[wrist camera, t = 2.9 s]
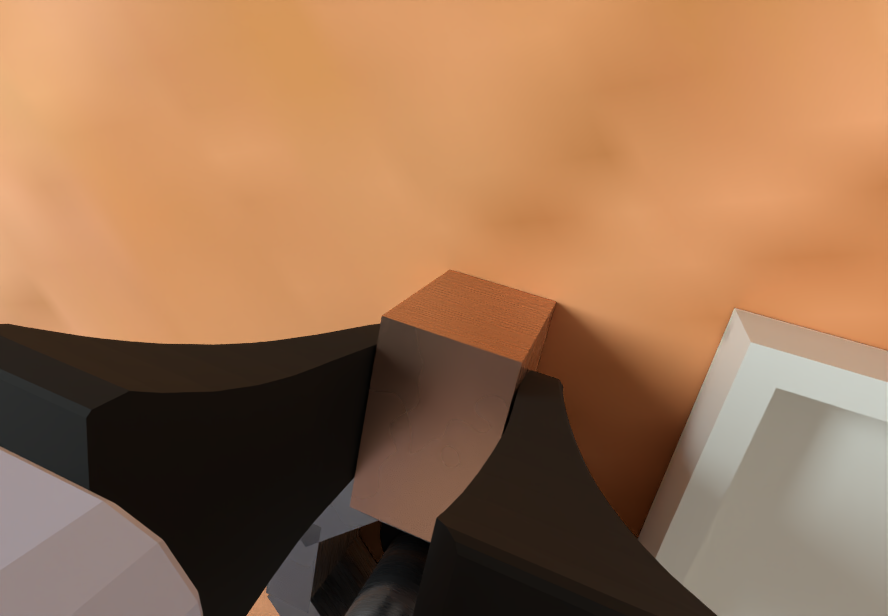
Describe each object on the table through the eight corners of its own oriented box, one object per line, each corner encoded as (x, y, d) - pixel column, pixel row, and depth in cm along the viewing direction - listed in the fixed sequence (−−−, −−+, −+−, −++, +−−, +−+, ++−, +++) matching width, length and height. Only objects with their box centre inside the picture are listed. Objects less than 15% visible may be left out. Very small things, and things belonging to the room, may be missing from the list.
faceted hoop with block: (530, 689, 15) (499, 834, 12) (311, 582, 17) (233, 684, 13) (664, 334, 11) (669, 411, 8) (360, 242, 13) (269, 278, 10)
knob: (478, 607, 15) (413, 789, 11) (377, 561, 15) (279, 713, 11) (505, 519, 14) (443, 684, 9) (395, 473, 14) (293, 608, 10)
